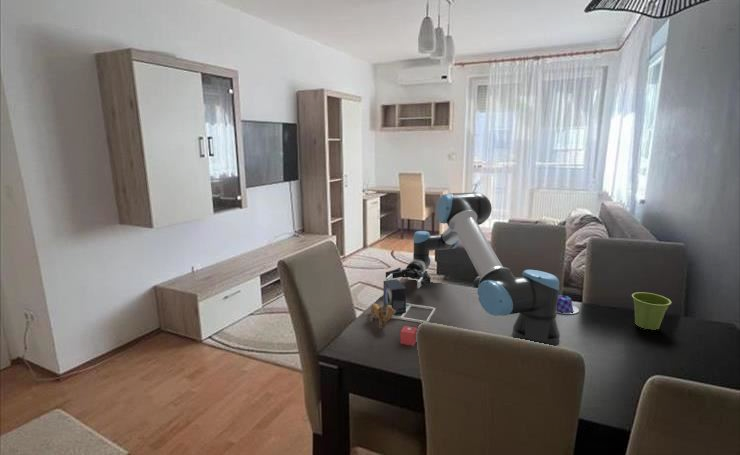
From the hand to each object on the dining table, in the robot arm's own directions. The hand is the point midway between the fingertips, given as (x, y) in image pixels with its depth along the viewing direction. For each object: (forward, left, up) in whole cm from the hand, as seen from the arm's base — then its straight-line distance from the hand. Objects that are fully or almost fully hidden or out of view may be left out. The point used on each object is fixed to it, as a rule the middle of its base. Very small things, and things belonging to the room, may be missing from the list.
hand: (402, 283), depth 171 cm
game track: (-5, +10, -8) cm, 14 cm away
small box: (0, +10, -8) cm, 12 cm away
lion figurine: (+1, +23, -9) cm, 25 cm away
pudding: (-63, -17, -9) cm, 66 cm away
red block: (-12, +33, -8) cm, 36 cm away
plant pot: (-90, -10, -9) cm, 92 cm away
